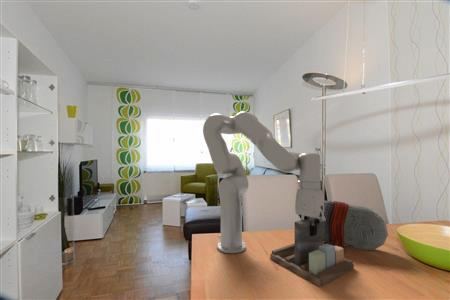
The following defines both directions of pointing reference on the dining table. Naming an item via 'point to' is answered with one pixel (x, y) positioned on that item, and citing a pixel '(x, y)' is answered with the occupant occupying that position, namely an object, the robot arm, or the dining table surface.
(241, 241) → the robot arm
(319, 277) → the walnut rack
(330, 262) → the slate offcut board
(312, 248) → the charcoal panel
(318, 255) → the sage offcut board
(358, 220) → the decorative stone tablet
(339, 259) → the terracotta offcut board
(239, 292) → the dining table surface
